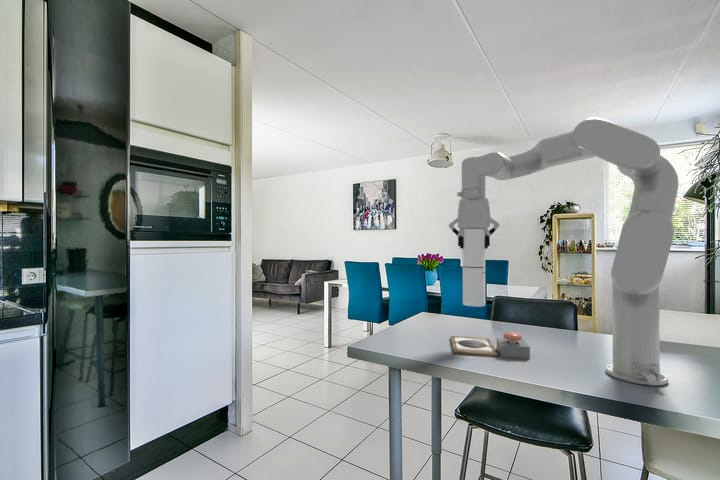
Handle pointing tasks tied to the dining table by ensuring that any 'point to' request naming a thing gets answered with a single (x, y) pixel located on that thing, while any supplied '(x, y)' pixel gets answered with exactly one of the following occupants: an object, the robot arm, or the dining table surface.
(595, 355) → the dining table surface
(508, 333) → the button
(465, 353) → the sketch board
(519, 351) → the button housing
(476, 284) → the cylindrical container
